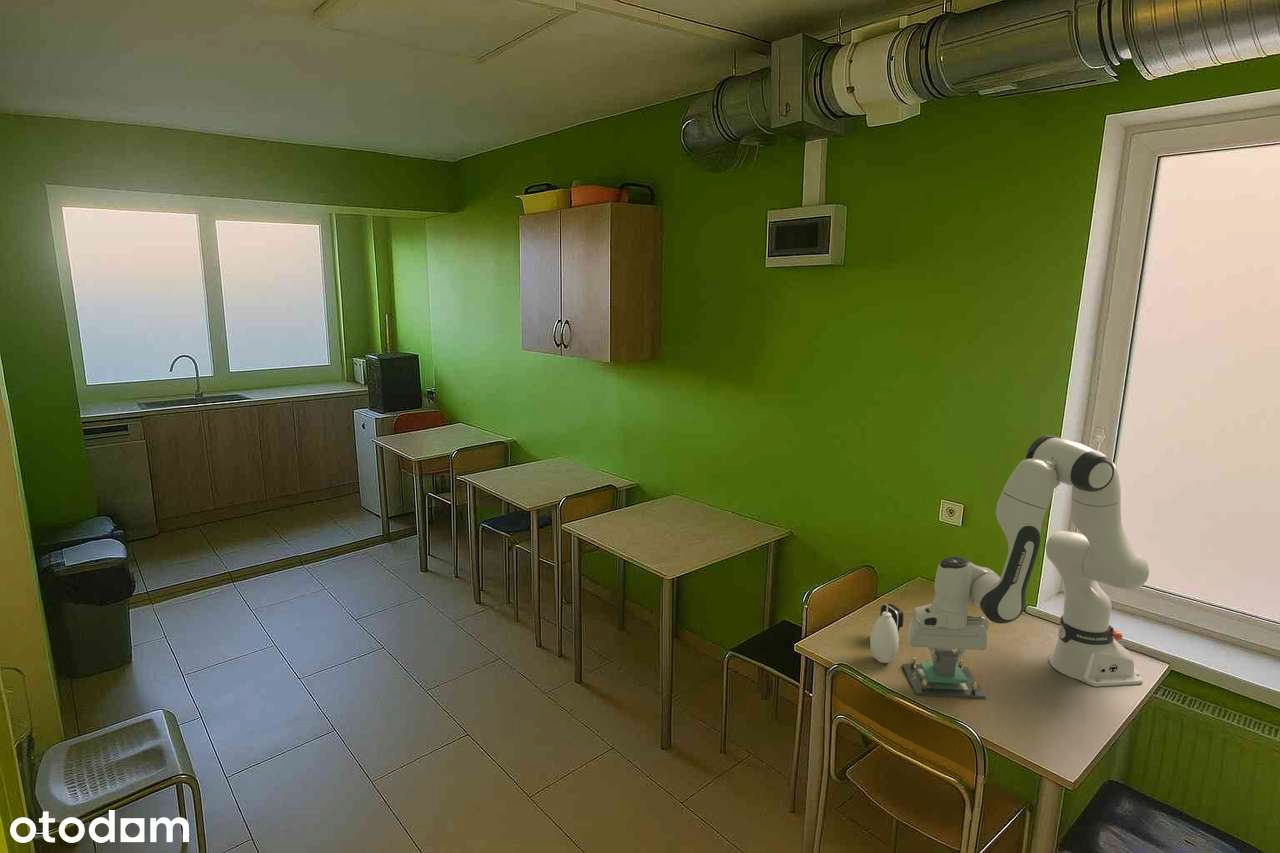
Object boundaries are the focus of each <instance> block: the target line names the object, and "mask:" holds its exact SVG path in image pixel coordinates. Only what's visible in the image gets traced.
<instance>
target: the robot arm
mask: <svg viewBox="0 0 1280 853" xmlns="http://www.w3.org/2000/svg"><path fill="white" fill-rule="evenodd" d="M1120 480H1121V479H1120V476H1119V471H1118V467H1117V466H1116V464H1115V463H1114V462H1113V461H1112V460H1111V458H1109V457H1108V456H1107V455H1106V454H1104V453H1103V452H1101V451H1099V450H1095V449H1093V448H1091V447H1089V446H1087V445H1085V444H1083V443H1080V442H1075V441H1072V440H1069V439H1065V438H1062V437H1060V436H1056V435H1042V436H1040V437H1038V438H1036V439H1035V440H1034V441H1033V442H1032V443H1031V444H1030V446H1029V448H1028V449H1027V452H1026V455H1025V459H1023V460H1021V461H1020V462H1019V463H1018V464H1017V465H1016V467H1015V468H1014V469H1013V471H1012V473H1011V474H1010V476H1009V478H1008V479H1007V481H1006V482H1005V484H1004V486H1003V490H1002V491H1001V493H1000V495H999V498H998V501H997V503H996V509H995V516H996V520H997V522H998V524H999V526H1000V527H1001V529H1002V531H1003V532H1004V535H1005V538H1006V540H1007V544H1008V553H1007V556H1006V560H1005V563H1004V565H1003V568H1002V572H1001V575H999V574H998V573H996V572H995V571H994V570H992V569H991V568H989V567H986V566H980V565H976V564H974V563H973V562H971V561H969V559H967V558H965V557H961V556H948V557H945V558H944V559H942V560H941V561H940V563H939V564H938V567H937V569H936V574H935V579H934V598H933V601H932V603H929V604H925V605H921V606H916V607H914V608H913V615H914V616H913V617H912V618H911V620H910V622H909V626H908V629H907V635H906V636H907V641H908V643H909V644H910V645H911V646H912V647H914V648H927V649H928V650H929V652H930V660H931V661H932V662H934V661H936V662H938V658H939V656H938V655H937V653H934V652H935V648H947V649H953V650H956V652H954V654H955V655H956V657H957V658H956V664H958V663H959V659H960V658H962V656H963V654H965V651H966V650H970V651H971V650H972V651H974V650H975V651H984V650H985V649H986V648H988V633H987V632H988V630H989V625H990V624H989V621H990V622H992V623H996V624H1008V623H1012V622H1014V621H1016V620H1017V619H1018V618H1019V617H1020V616H1021V615H1022V614H1023V612H1024V611H1025V607H1026V606H1025V605H1026V591H1027V588H1028V584H1029V581H1030V578H1031V575H1032V572H1033V569H1034V566H1035V562H1036V560H1037V557H1038V553H1039V549H1040V545H1041V529H1042V524H1043V521H1044V518H1045V514H1046V512H1047V509H1048V508H1049V505H1050V503H1051V501H1052V498H1053V494H1054V491H1055V490H1056V488H1057V487H1058V486H1059V485H1061V484H1065V485H1068V486H1071V521H1072V523H1073V525H1074V527H1075V528H1076V529H1077V530H1078V531H1079V532H1080V533H1079V532H1076V531H1075V532H1073V531H1069V530H1068V531H1066V530H1057V531H1056V532H1054V533H1053V534H1051V536H1049V537H1048V539H1047V542H1046V544H1045V554H1046V556H1047V559H1048V560H1049V561H1050V562H1051V564H1052V565H1053V566H1054V567H1055V569H1056V571H1057V572H1058V574H1059V576H1060V579H1061V582H1062V585H1063V589H1064V590H1063V591H1064V602H1063V612H1062V615H1061V617H1060V620H1059V625H1058V634H1057V635H1058V638H1057V642H1056V644H1055V647H1054V649H1053V652H1052V653H1051V655H1050V657H1049V660H1048V661H1049V663H1050V665H1051V666H1052V667H1053V668H1054V669H1055V670H1057V671H1058V672H1060V673H1061V674H1063V675H1065V676H1067V677H1069V678H1072V679H1075V680H1078V681H1082V682H1083V683H1084V684H1087V685H1089V686H1092V687H1095V688H1096V687H1097V688H1098V687H1108V686H1109V687H1111V686H1112V687H1113V686H1128V685H1142V684H1143V683H1144V682H1143V680H1144V679H1143V676H1142V673H1141V672H1140V671H1139V670H1138V669H1137V668H1136V667H1135V663H1134V659H1133V656H1132V655H1131V653H1130V652H1129V651H1128V650H1127V649H1126V648H1125V647H1124V646H1123V645H1122V644H1121V643H1120V642H1119V641H1120V640H1122V639H1123V637H1124V636H1123V634H1122V633H1121V632H1120V631H1119V630H1116V629H1114V627H1112V625H1110V620H1111V612H1112V609H1113V606H1112V604H1113V603H1112V602H1111V598H1110V597H1109V595H1108V594H1107V593H1106V592H1105V591H1104V590H1103V589H1102V588H1101V586H1100V584H1099V583H1101V584H1103V585H1106V586H1108V587H1111V588H1114V589H1115V588H1116V589H1120V590H1125V591H1129V592H1133V591H1136V590H1138V589H1140V588H1141V587H1142V586H1144V584H1146V582H1147V581H1148V579H1149V576H1150V569H1149V565H1148V562H1147V560H1146V558H1144V557H1143V556H1142V555H1141V554H1139V552H1138V551H1137V550H1136V549H1135V548H1134V547H1133V545H1132V544H1131V542H1130V540H1129V539H1128V536H1127V535H1126V533H1125V531H1124V527H1123V525H1122V514H1121V513H1122V512H1121V511H1122V510H1121V503H1122V502H1121V498H1122V497H1121V496H1122V495H1121V493H1122V492H1121V481H1120ZM970 605H976V606H977V607H978V608H979V609H980V610H981V612H982V613H983V614H984V616H986V618H985V617H983V616H975V615H969V607H970ZM988 620H989V621H988Z"/></svg>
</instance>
